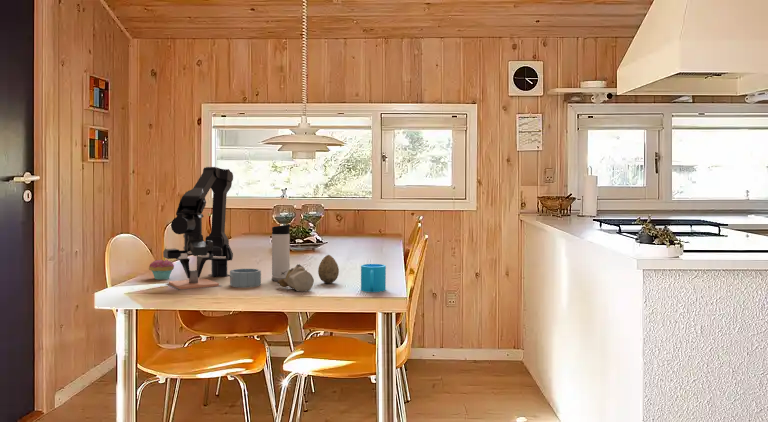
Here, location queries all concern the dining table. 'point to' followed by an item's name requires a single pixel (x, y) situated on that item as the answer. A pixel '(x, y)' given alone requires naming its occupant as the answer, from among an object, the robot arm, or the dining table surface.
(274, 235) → the travel mug
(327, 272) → the decorative egg
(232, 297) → the dining table surface
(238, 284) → the bowl
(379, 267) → the mug
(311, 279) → the ceramic sculpture
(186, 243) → the robot arm
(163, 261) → the cupcake
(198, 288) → the mat
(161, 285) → the dining table surface
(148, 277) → the dining table surface
